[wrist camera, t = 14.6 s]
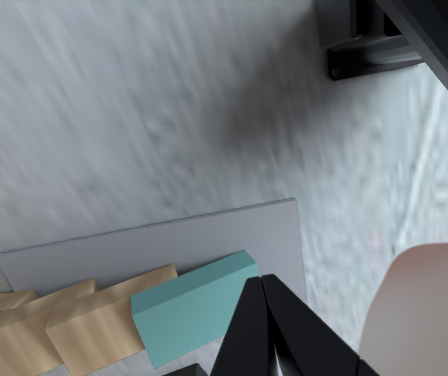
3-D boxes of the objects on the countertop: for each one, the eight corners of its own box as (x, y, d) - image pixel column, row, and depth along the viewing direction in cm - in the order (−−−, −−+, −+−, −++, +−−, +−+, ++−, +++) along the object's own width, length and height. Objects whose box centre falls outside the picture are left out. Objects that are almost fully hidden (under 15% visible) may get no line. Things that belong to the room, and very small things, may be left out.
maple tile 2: (178, 277, 19) (44, 329, 17) (193, 326, 21) (74, 380, 19) (173, 263, 21) (52, 308, 19) (188, 309, 23) (79, 356, 21)
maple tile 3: (93, 292, 20) (-54, 350, 17) (115, 339, 22) (-15, 399, 19) (94, 277, 22) (-38, 327, 19) (114, 322, 23) (-4, 374, 21)
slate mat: (294, 197, 20) (296, 200, 20) (307, 315, 24) (309, 319, 24) (-2, 253, 21) (-7, 257, 21) (59, 356, 25) (56, 361, 25)
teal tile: (254, 297, 23) (151, 346, 20) (244, 249, 21) (130, 296, 18) (265, 314, 21) (154, 369, 18) (256, 262, 19) (131, 316, 17)
